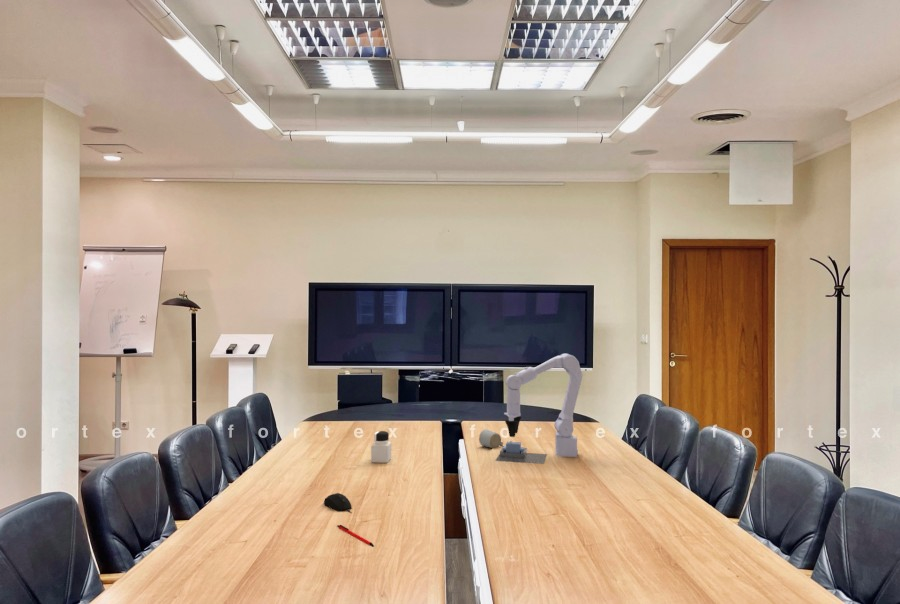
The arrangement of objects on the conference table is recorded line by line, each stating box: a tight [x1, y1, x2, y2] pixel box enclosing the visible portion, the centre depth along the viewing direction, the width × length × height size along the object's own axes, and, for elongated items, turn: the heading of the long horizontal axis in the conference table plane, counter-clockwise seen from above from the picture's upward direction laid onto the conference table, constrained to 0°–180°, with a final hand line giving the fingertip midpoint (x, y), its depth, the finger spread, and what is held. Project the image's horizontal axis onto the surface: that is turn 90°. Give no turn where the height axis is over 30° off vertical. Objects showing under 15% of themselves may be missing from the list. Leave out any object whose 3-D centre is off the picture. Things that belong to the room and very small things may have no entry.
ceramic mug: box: [478, 428, 504, 449], centre depth 262 cm, size 11×8×8 cm
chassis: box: [495, 446, 548, 465], centre depth 240 cm, size 20×16×3 cm
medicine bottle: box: [370, 430, 392, 464], centre depth 238 cm, size 7×7×12 cm
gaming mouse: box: [323, 492, 353, 514], centre depth 182 cm, size 6×15×4 cm, turn 40°
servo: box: [502, 440, 525, 454], centre depth 244 cm, size 9×4×6 cm, turn 77°
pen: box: [336, 524, 375, 547], centre depth 159 cm, size 1×19×1 cm, turn 41°
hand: (513, 434), depth 244 cm, fingers open, 7 cm apart
